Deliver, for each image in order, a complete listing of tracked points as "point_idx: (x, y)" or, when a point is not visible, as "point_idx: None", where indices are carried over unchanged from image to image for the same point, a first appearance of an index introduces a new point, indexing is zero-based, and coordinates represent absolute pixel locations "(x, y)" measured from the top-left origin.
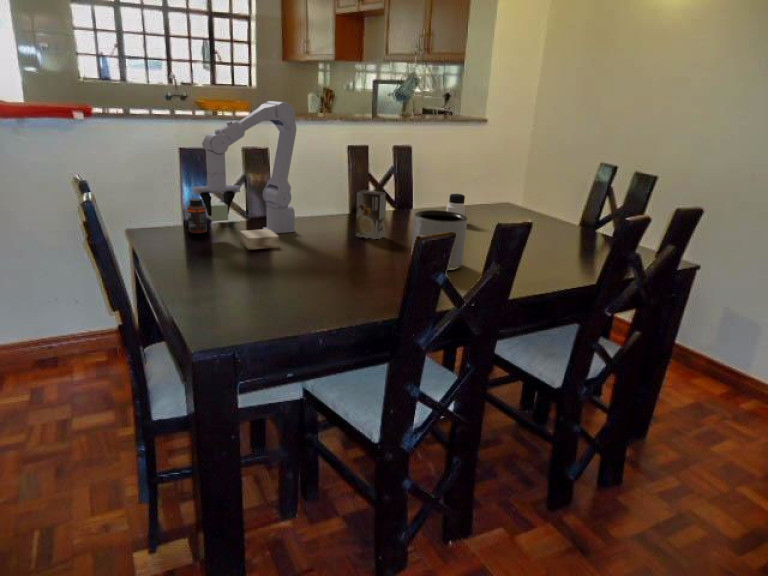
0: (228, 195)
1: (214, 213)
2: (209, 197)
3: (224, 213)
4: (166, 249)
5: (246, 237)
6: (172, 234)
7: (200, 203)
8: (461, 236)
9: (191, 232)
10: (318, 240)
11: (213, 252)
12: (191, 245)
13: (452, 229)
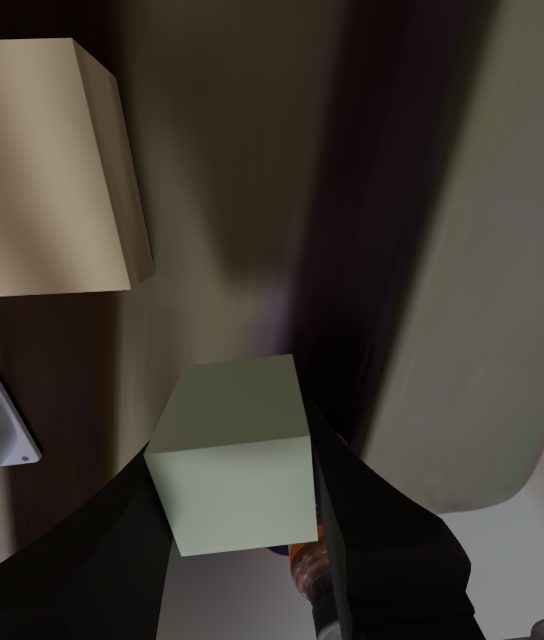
0: (60, 583)
1: (282, 387)
2: (369, 530)
3: (198, 395)
4: (529, 202)
5: (88, 99)
6: (414, 432)
7: (331, 591)
8: None
9: (344, 439)
10: None
11: (329, 63)
12: (397, 251)
13: None
